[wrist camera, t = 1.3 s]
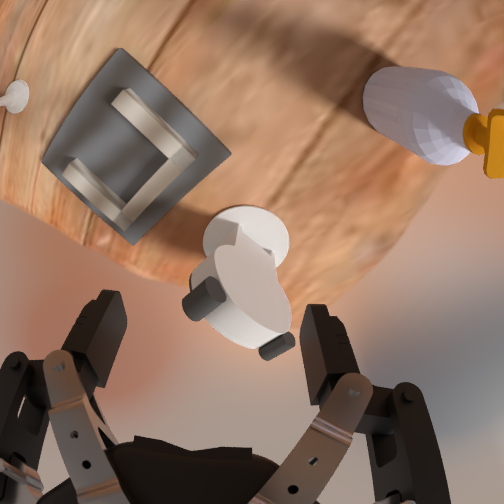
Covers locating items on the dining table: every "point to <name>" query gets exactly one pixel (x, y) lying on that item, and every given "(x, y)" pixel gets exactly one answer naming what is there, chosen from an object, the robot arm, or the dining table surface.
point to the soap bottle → (434, 117)
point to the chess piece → (16, 96)
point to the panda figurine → (243, 280)
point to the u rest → (131, 148)
